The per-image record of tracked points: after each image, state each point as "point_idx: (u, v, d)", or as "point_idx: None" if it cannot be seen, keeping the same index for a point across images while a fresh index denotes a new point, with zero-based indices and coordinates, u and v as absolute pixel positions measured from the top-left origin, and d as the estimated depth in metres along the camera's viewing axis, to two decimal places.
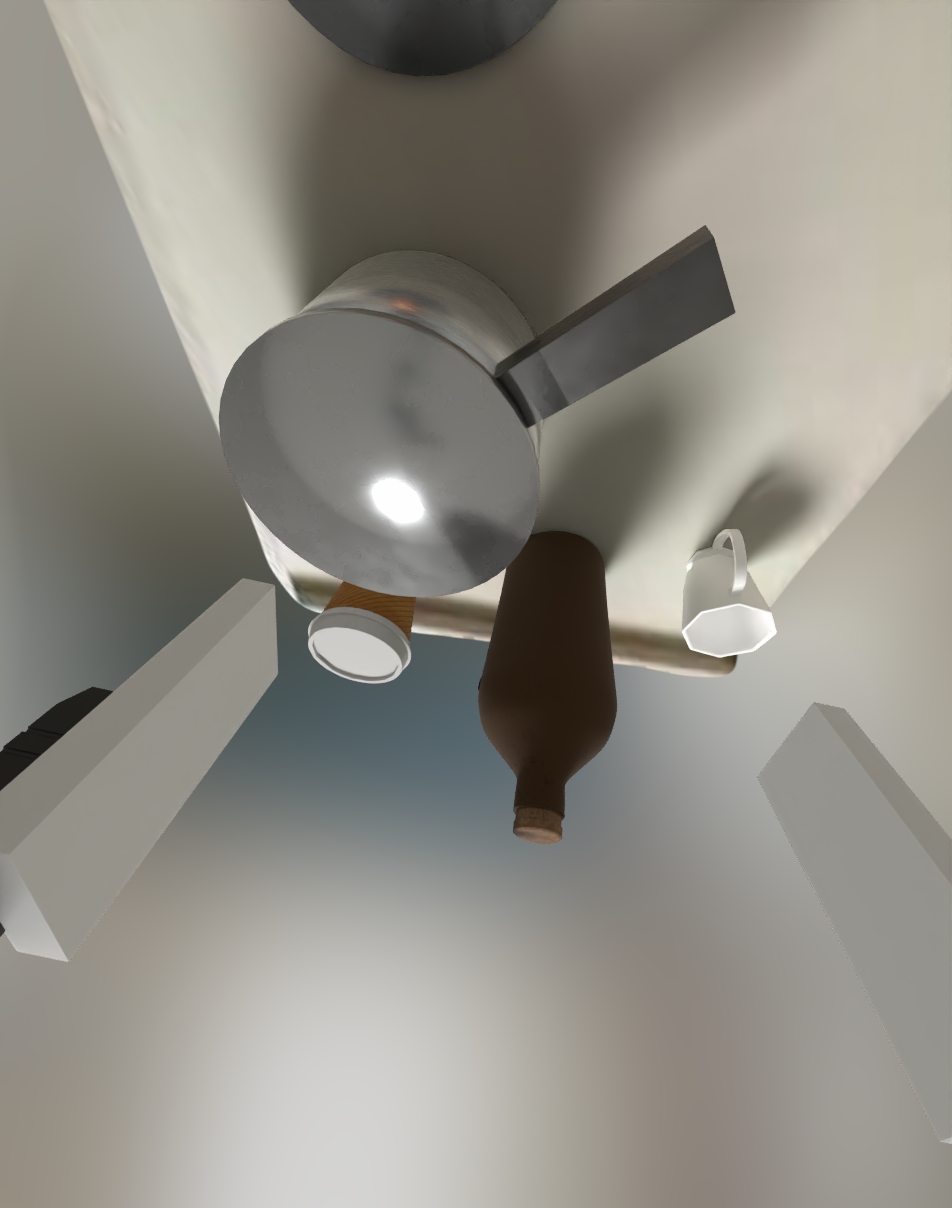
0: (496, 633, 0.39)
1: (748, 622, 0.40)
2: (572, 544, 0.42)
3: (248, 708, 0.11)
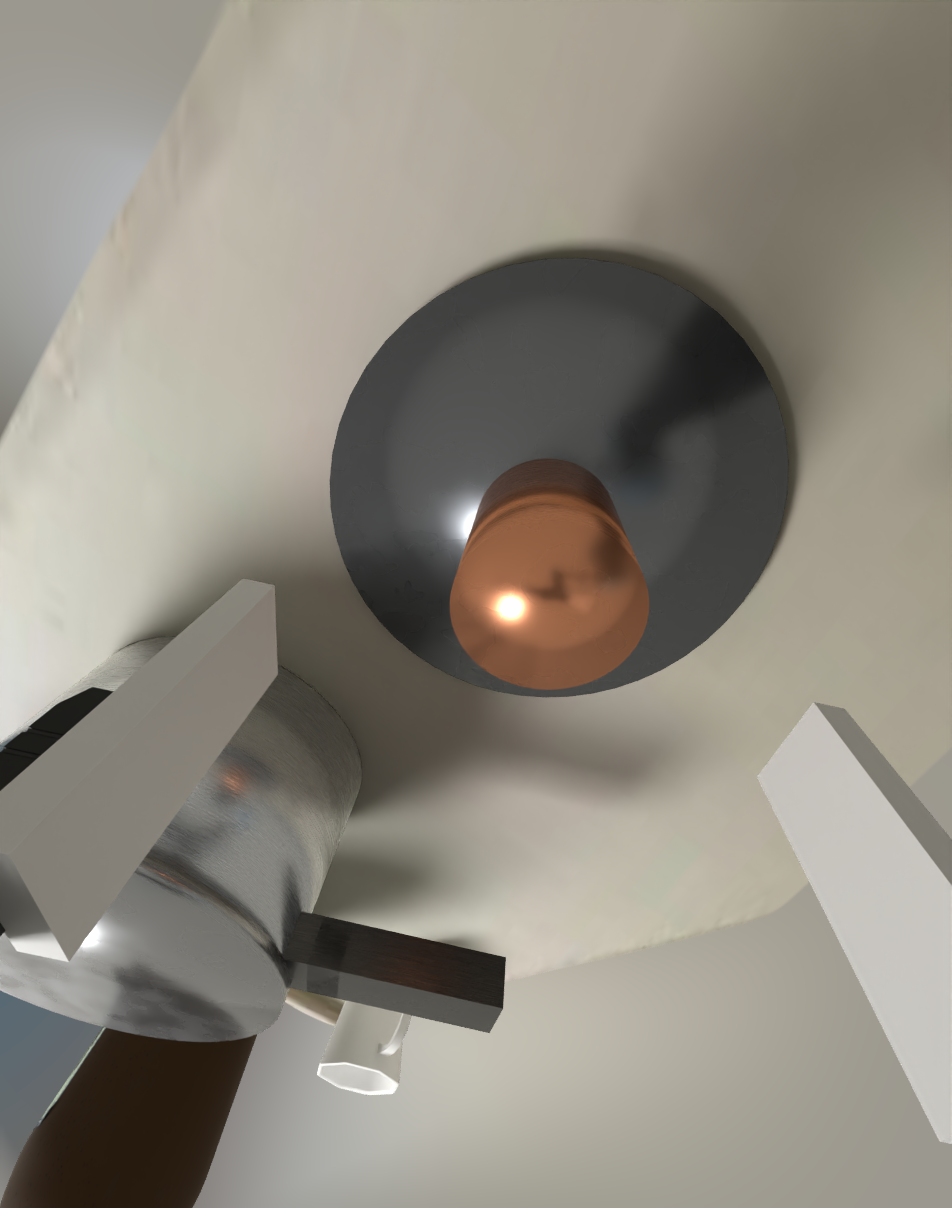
0: (120, 1034, 0.30)
1: None
2: None
3: (248, 708, 0.11)
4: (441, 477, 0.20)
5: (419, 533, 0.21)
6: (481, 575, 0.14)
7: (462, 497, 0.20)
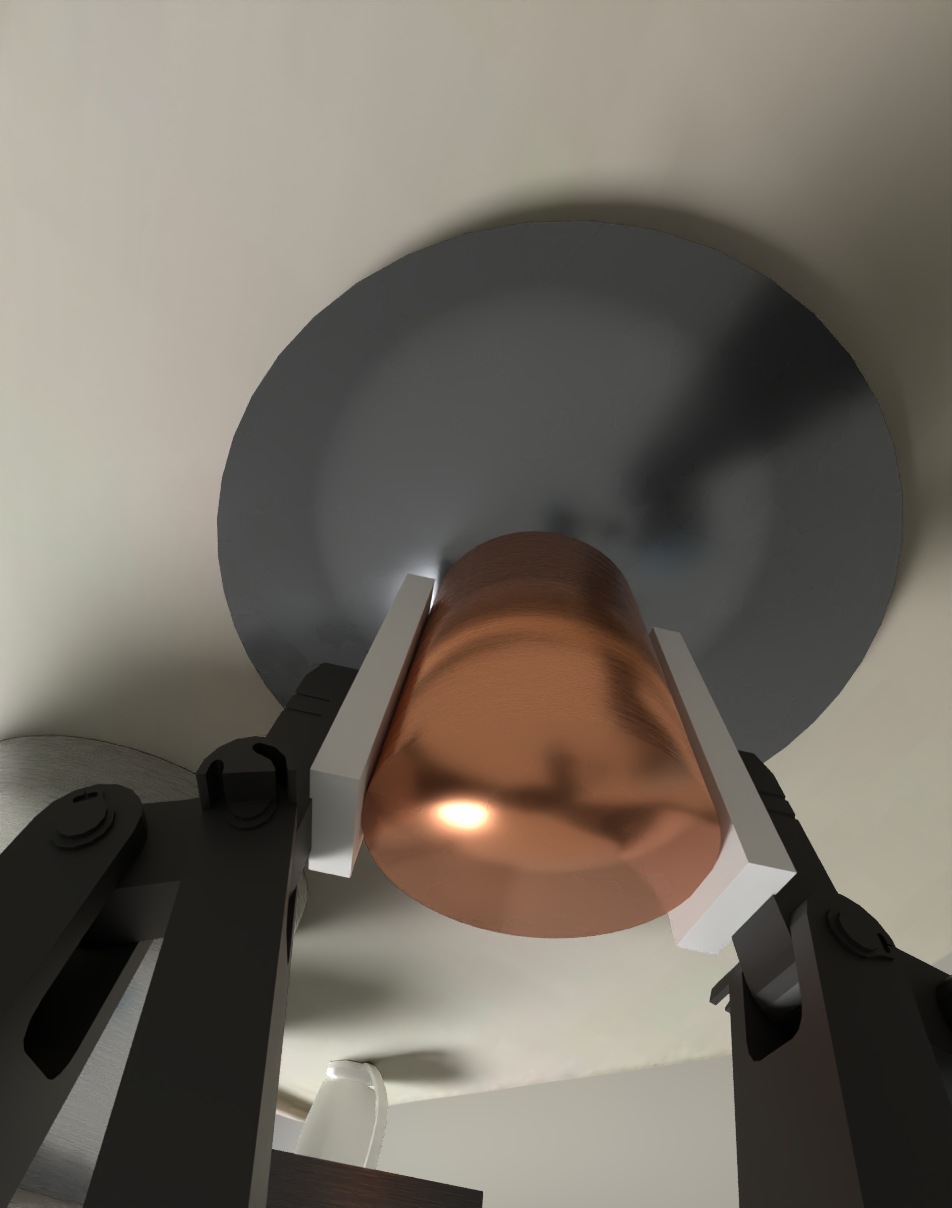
0: None
1: None
2: None
3: None
4: (379, 555, 0.13)
5: (353, 628, 0.15)
6: (412, 791, 0.08)
7: None
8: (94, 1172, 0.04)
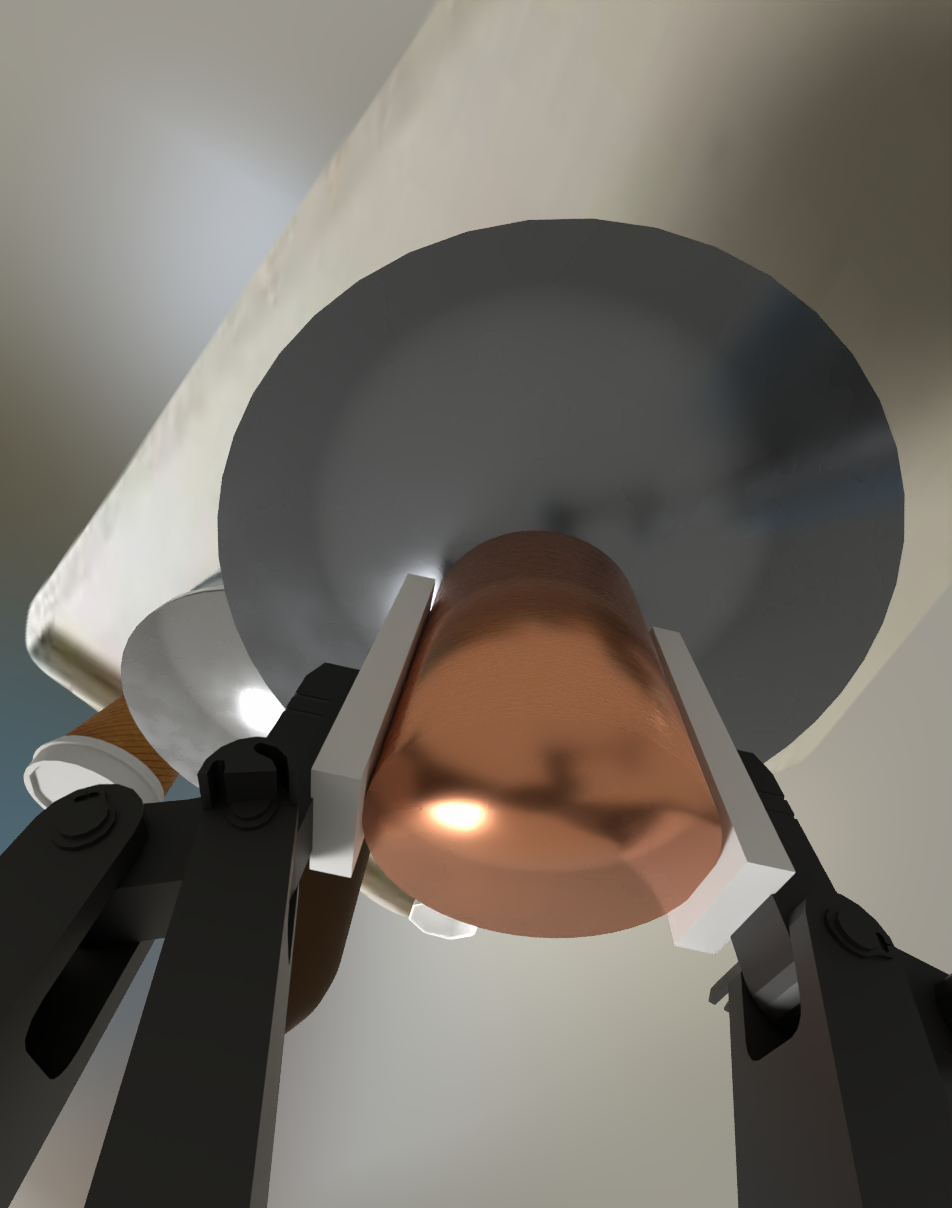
0: None
1: None
2: None
3: None
4: (380, 554, 0.13)
5: (353, 627, 0.15)
6: (412, 790, 0.08)
7: None
8: (95, 1171, 0.04)
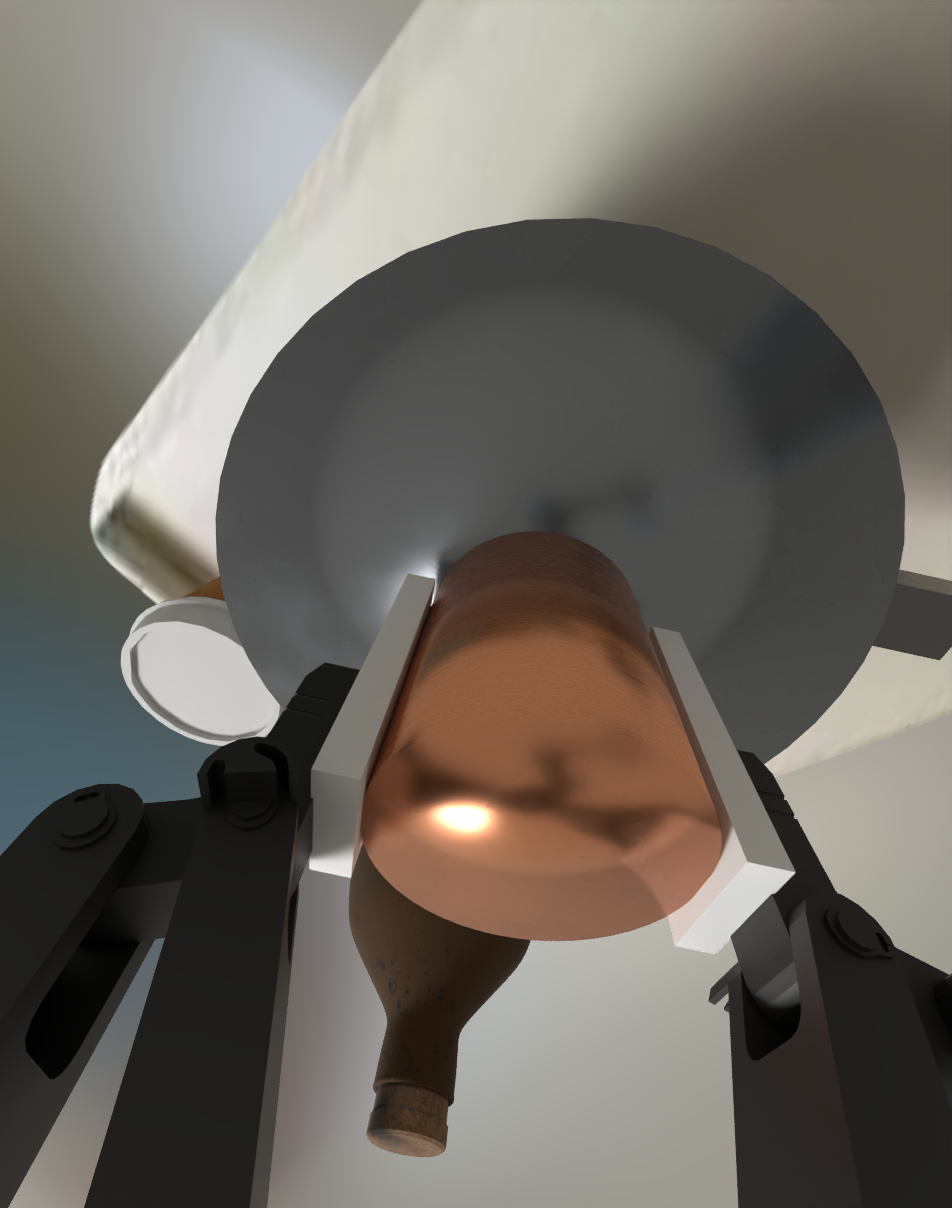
0: None
1: None
2: None
3: None
4: (378, 555, 0.13)
5: (352, 628, 0.15)
6: (410, 793, 0.08)
7: None
8: (96, 1171, 0.04)
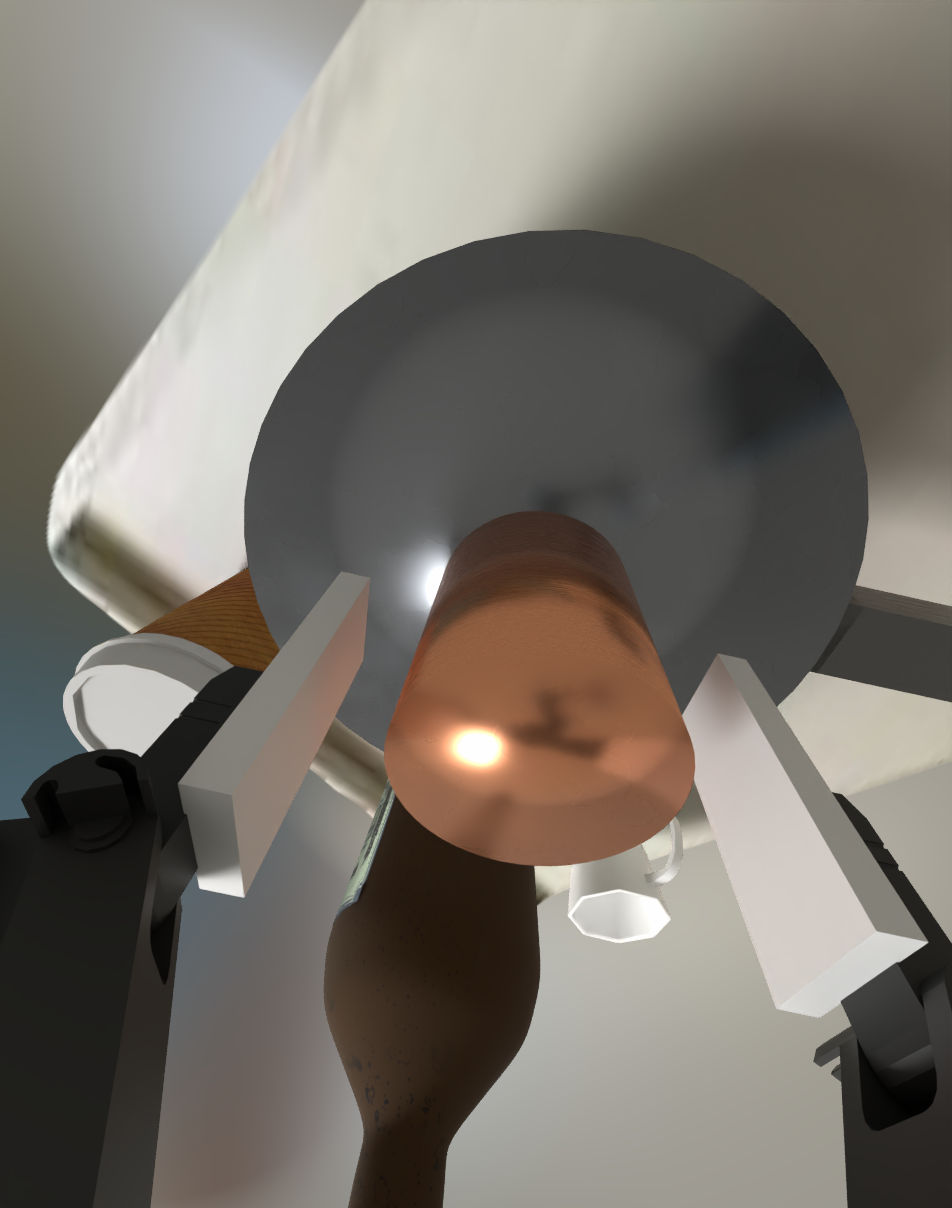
0: None
1: (621, 905, 0.36)
2: None
3: (346, 689, 0.12)
4: (393, 533, 0.15)
5: None
6: (429, 722, 0.09)
7: (422, 558, 0.15)
8: None
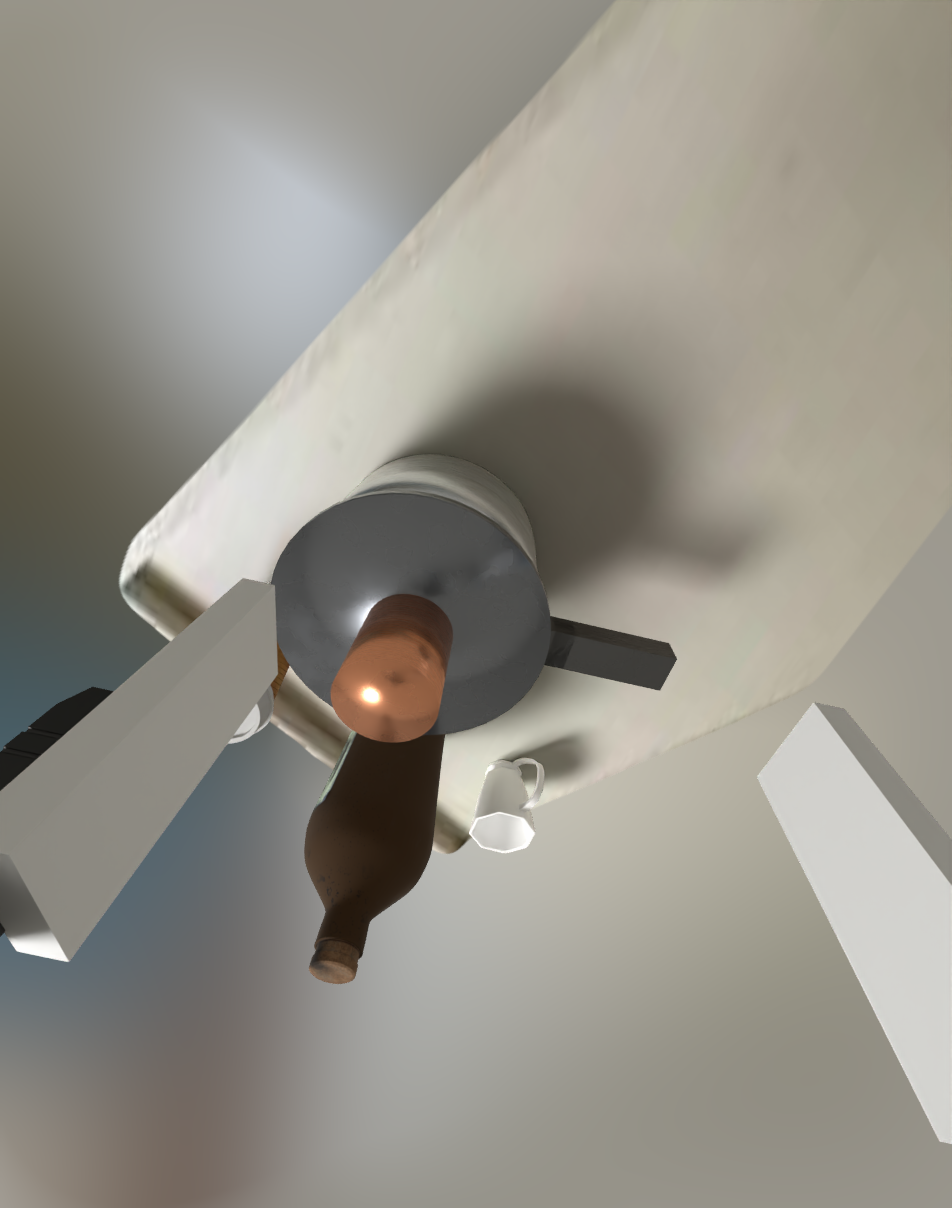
0: (362, 756, 0.42)
1: (509, 830, 0.53)
2: None
3: (248, 708, 0.11)
4: (341, 602, 0.31)
5: (329, 633, 0.33)
6: (345, 683, 0.25)
7: (355, 613, 0.32)
8: None
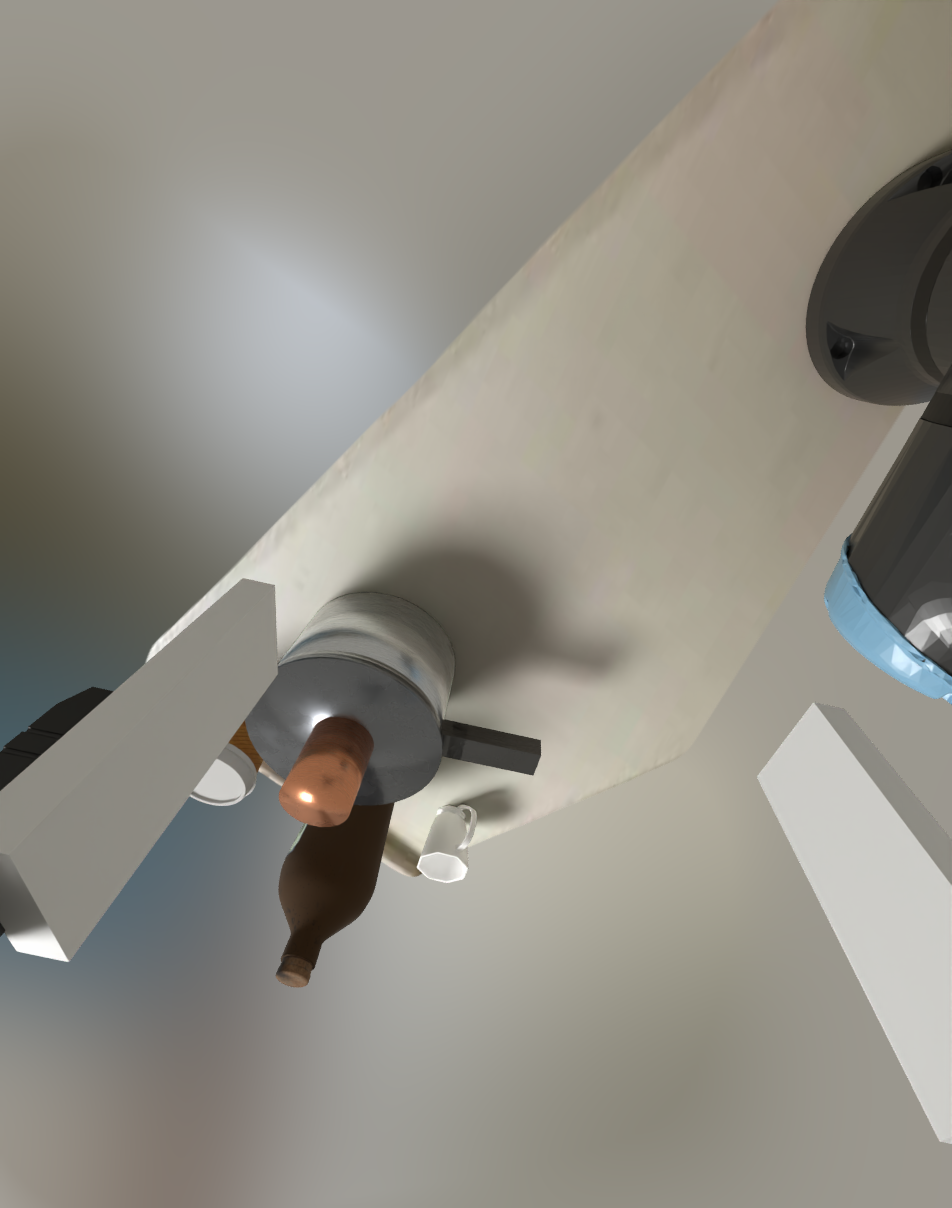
0: None
1: (452, 863, 0.66)
2: None
3: (248, 708, 0.11)
4: (293, 721, 0.44)
5: (288, 739, 0.46)
6: (287, 792, 0.39)
7: (304, 727, 0.45)
8: None
